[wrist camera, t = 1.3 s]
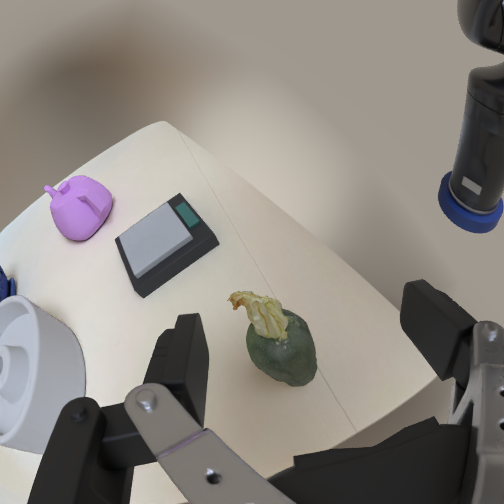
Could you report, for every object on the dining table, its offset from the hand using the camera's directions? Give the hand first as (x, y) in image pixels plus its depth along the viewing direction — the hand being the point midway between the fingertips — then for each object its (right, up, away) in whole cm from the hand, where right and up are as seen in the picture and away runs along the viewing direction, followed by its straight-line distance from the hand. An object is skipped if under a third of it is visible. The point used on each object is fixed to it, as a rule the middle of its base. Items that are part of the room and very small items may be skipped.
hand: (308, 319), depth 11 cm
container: (-38, -20, +25) cm, 50 cm away
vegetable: (+3, -11, +19) cm, 22 cm away
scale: (-16, +3, +36) cm, 39 cm away
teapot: (-37, +9, +47) cm, 61 cm away
